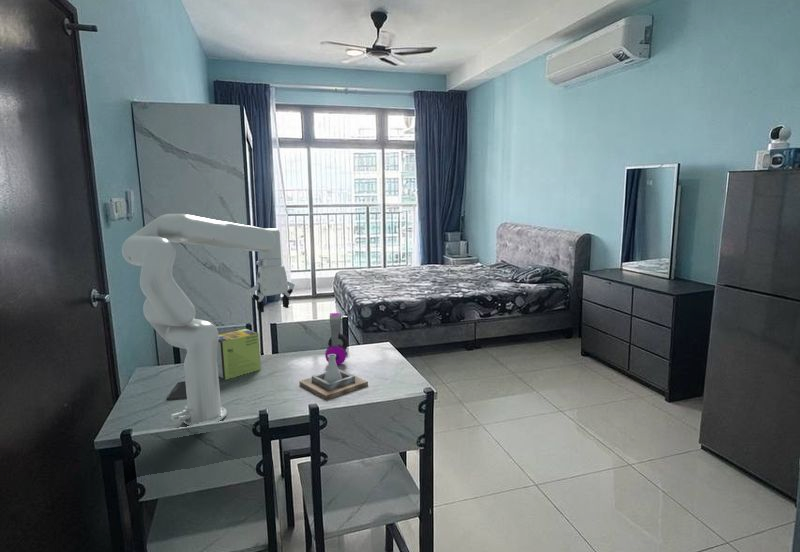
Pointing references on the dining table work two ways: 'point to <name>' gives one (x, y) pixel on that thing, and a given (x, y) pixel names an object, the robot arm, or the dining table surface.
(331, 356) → the flask
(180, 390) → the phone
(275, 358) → the dining table surface
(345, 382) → the holder
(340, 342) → the headphones
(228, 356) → the protein box
